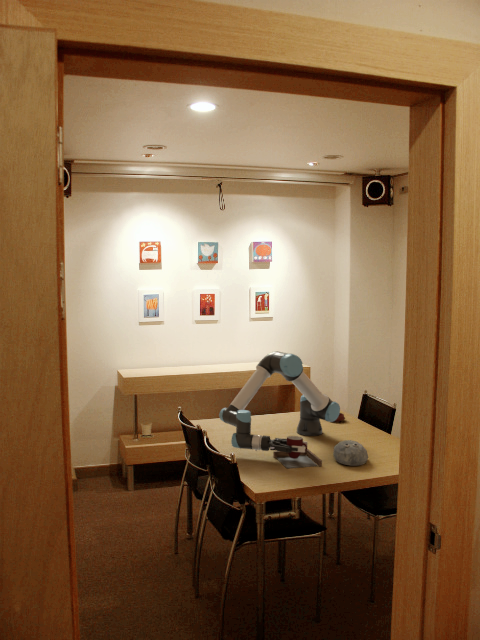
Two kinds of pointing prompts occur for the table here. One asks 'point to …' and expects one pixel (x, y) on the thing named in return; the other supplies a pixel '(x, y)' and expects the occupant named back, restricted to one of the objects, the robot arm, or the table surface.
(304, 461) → the tray
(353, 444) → the decorative stone
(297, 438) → the mug
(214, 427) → the table surface
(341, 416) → the pottery
